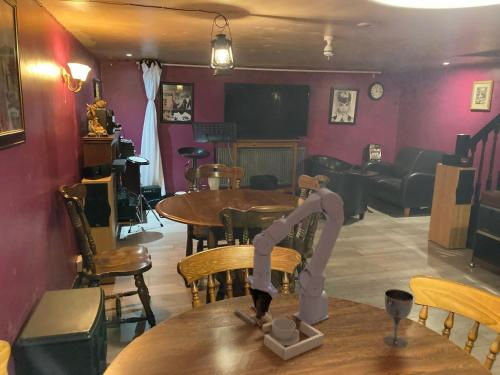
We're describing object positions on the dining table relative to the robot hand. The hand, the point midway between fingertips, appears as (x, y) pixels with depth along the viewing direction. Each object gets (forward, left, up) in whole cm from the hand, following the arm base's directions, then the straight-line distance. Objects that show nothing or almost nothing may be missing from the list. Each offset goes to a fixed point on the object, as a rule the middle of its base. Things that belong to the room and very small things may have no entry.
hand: (261, 309), depth 132 cm
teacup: (0, +12, -4) cm, 13 cm away
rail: (0, -4, -4) cm, 6 cm away
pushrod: (0, +3, -4) cm, 5 cm away
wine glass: (-27, +32, -4) cm, 42 cm away
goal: (0, +16, -4) cm, 17 cm away
